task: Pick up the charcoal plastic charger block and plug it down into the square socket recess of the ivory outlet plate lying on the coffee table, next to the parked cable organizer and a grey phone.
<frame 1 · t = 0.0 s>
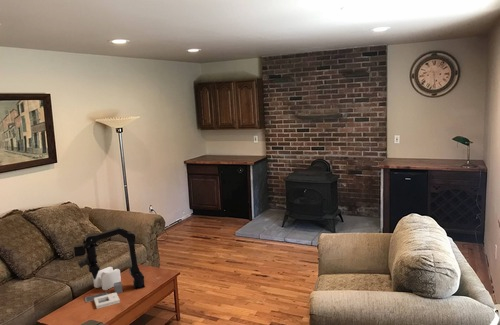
hand: (93, 276, 260), 15 cm above the table, fingers open, 9 cm apart
cable organizer: (107, 286, 278), on the table
outlet plate: (106, 301, 256), on the table
charger: (118, 292, 269), on the table
phone: (96, 298, 262), on the table
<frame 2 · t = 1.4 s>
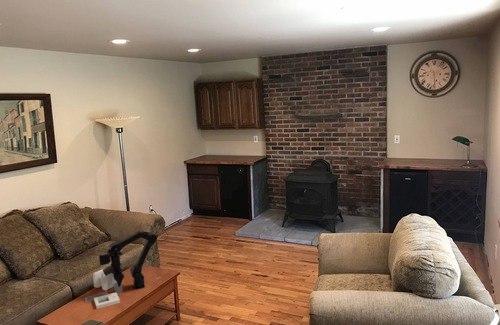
hand: (118, 283, 268), 6 cm above the table, fingers open, 9 cm apart
nothing on the table moved.
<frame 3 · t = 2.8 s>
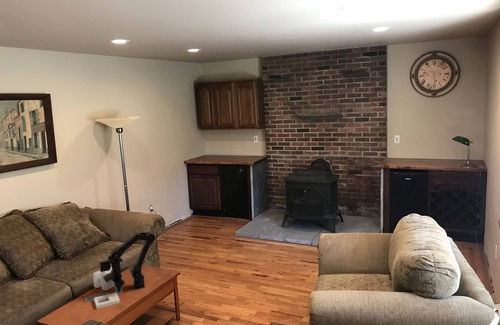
hand: (118, 290, 269), 1 cm above the table, fingers closed on charger, 4 cm apart
charger: (118, 291, 269), on the table, touching gripper
everything else where it was.
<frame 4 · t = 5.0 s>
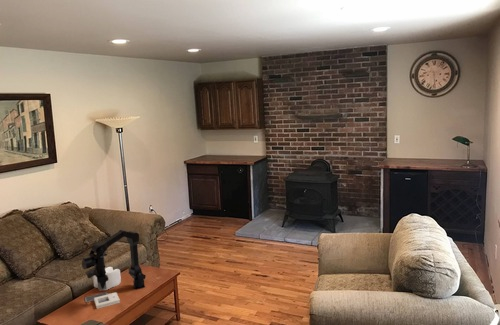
hand: (102, 287, 253), 11 cm above the table, fingers closed on charger, 4 cm apart
charger: (102, 288, 253), point 10 cm above the table, touching gripper
everything else where it was.
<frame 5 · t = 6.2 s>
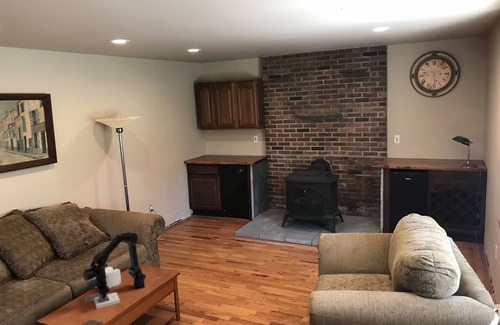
hand: (103, 297, 254), 3 cm above the table, fingers closed on charger, 4 cm apart
charger: (103, 299, 255), point 2 cm above the table, touching gripper
everything else where it was.
when the fingers open (3 cm above the table, at t = 7.0 s): charger drops 2 cm, resting on outlet plate.
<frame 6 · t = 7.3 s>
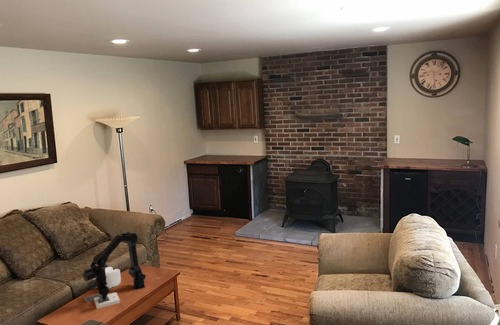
hand: (103, 298, 254), 3 cm above the table, fingers open, 7 cm apart
charger: (103, 302, 255), resting on outlet plate
everything else where it was.
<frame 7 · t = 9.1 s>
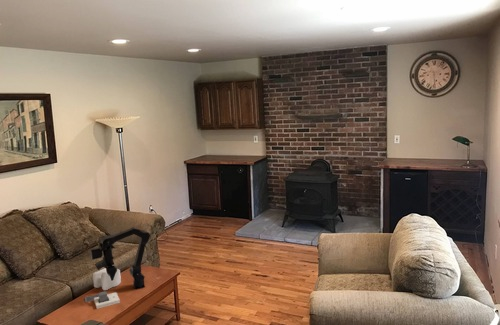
hand: (110, 277, 264), 12 cm above the table, fingers open, 9 cm apart
nothing on the table moved.
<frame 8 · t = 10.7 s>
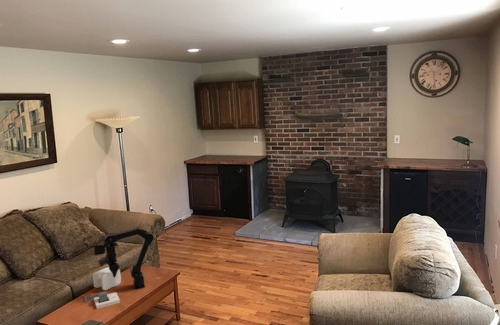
hand: (113, 274, 268), 12 cm above the table, fingers open, 9 cm apart
nothing on the table moved.
at the end: charger 0.0 cm from the target spot on the outlet plate, point 0.3 cm above the outlet plate's base; charger tilted 0°; the gripper is holding nothing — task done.
